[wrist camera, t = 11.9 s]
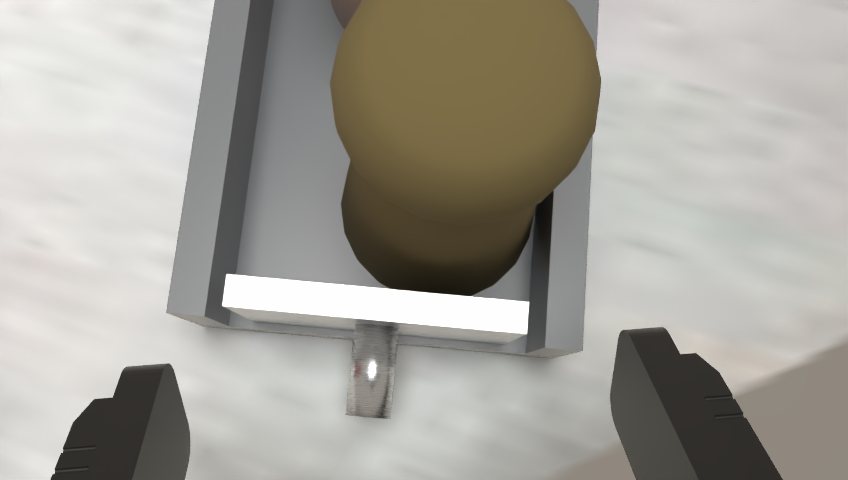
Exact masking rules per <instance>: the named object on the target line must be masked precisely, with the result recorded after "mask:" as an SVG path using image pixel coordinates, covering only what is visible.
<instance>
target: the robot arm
mask: <svg viewBox="0 0 848 480" xmlns="http://www.w3.org/2000/svg"><path fill="white" fill-rule="evenodd" d="M610 402H611V411H612V416H613V421H614V424H615V427H616V430H617V432H618V435H619V437H620V440H621V442H622V445H623V447H624V450H625V452H626V455H627V457H628V460H629V462H630V465H631V467H632V470H633V473H634V475H635V478H636V480H783V479H782V478H781V476H780V474H779V473H778V471H777V469H776V468H775V466H774V464H773V463H772V461H771V459H770V457H769V456H768V454H767V452H766V451H765V449H764V447H763V446H762V444H761V442H760V441H759V439H758V437H757V436H756V434H755V432H754V431H753V429H752V427H751V425H750V424H749V422H748V420H747V419H746V418H744V417H743V412H742V411H741V409H740V407H739V405H738V403H737V402H736V400H735V399H733V398H732V393H731V392H730V390H729V388H728V387H727V385H726V383H725V382H724V380H723V378H722V376H721V375H720V373H719V372H718V371H717V370H716V369H714V368H713V367H712V366H711V365H710V364H708V363H707V362H706V361H705V360H704V359H702V358H701V357H700V356H699V355H697V354H696V353H693V354H680V353H679V351H678V349H677V347H676V345H675V344H674V342H673V340H672V338H671V336H670V334H669V333H668V331H667V330H666V329H665V328H663V327H658V328H645V329H632V330H623V331H621V333H620V335H619V338H618V345H617V351H616V358H615V365H614V371H613V378H612V385H611V393H610ZM189 456H190V431H189V425H188V421H187V417H186V413H185V410H184V406H183V402H182V399H181V395H180V391H179V388H178V384H177V380H176V376H175V373H174V370H173V368H172V366H171V365H170V364H156V365H143V366H130V367H125V368H124V369H123V371H122V373H121V376H120V379H119V381H118V384H117V387H116V390H115V393H114V396H113V398H103V399H94V400H93V401H92V402H91V403H90V405H89V406H88V407H87V408H86V409H85V410H84V411H83V412H82V413H81V415H80V416H79V417H78V418H77V419H76V420H75V421H74V422H73V424H72V427H71V429H70V432H69V434H68V437H67V440H66V442H65V445H64V447H63V453H61V455H60V457H59V460H58V462H57V465H56V467H55V474H53V475H52V477H51V480H185V476H186V471H187V467H188V462H189Z"/></svg>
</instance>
